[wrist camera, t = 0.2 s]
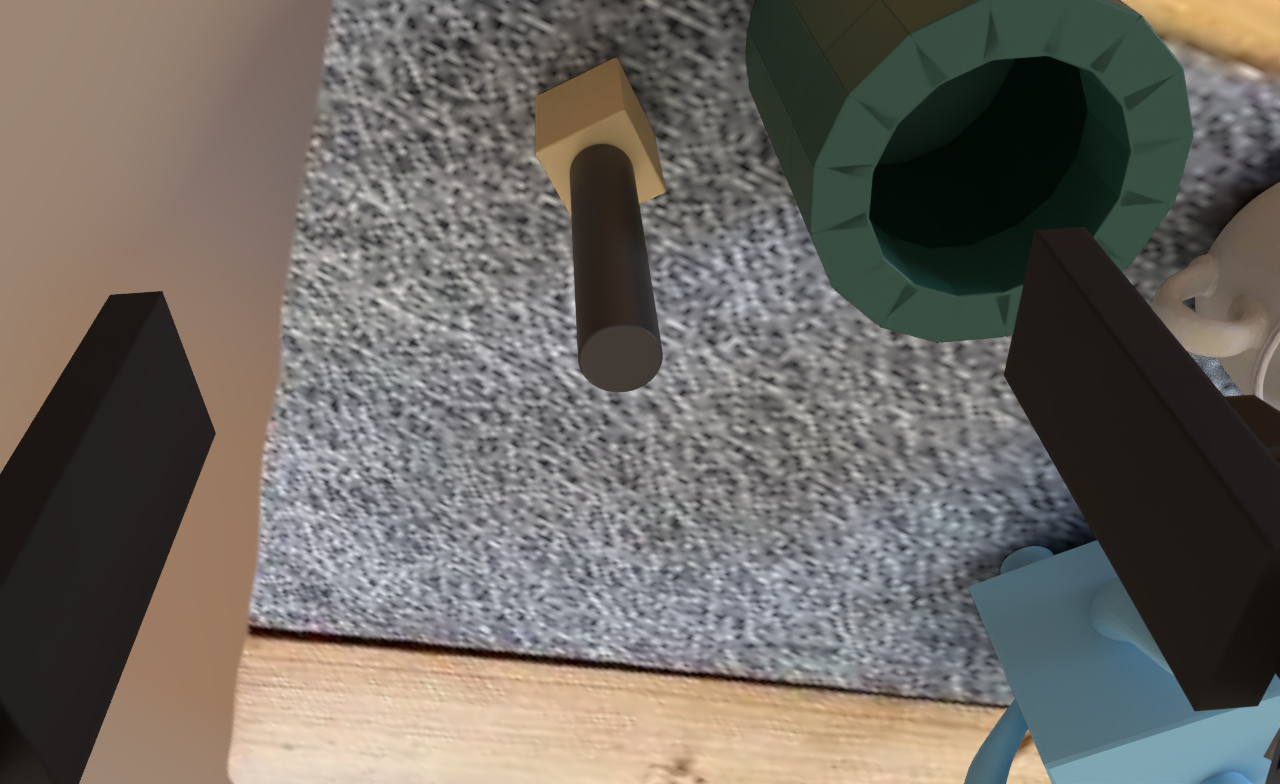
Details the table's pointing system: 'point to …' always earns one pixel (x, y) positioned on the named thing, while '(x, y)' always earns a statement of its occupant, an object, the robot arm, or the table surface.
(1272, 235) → the teacup
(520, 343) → the table surface
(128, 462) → the robot arm
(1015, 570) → the teakettle
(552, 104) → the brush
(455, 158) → the table surface
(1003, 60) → the green plastic cup
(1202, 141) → the table surface
